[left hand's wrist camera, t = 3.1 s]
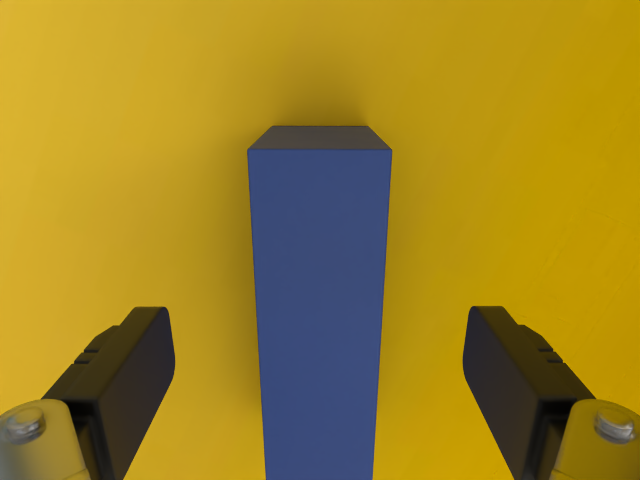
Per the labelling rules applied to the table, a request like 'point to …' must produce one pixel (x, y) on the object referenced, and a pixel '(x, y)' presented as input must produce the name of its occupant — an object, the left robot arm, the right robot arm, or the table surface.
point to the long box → (319, 295)
